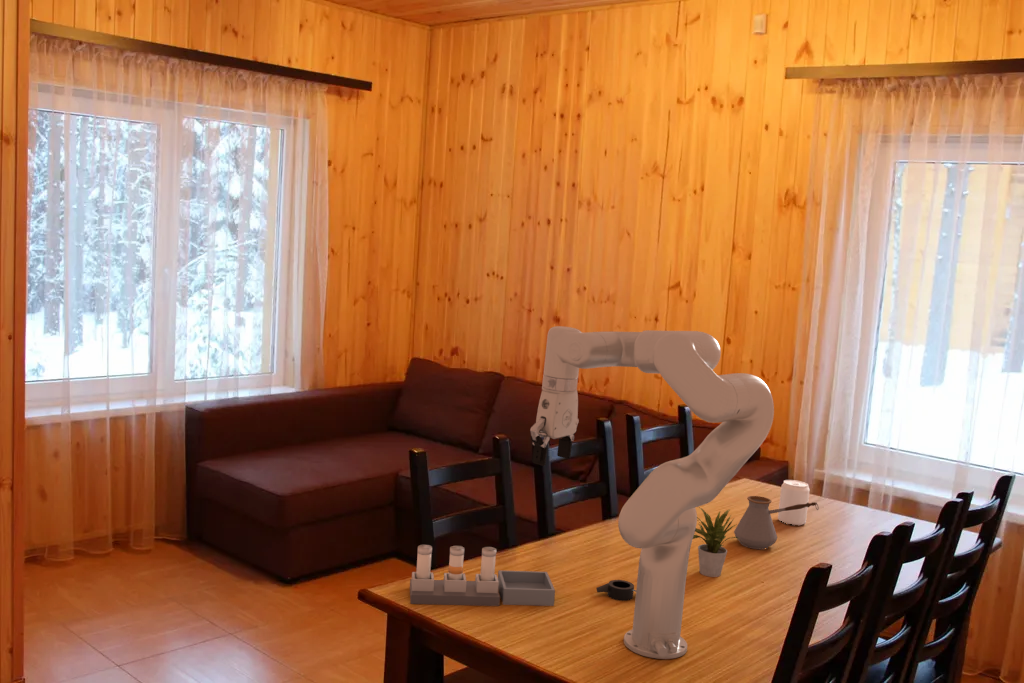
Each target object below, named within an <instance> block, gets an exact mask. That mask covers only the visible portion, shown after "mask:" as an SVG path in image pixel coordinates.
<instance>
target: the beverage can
mask: <svg viewBox="0 0 1024 683" xmlns="http://www.w3.org/2000/svg"><path fill="white" fill-rule="evenodd" d="M810 491H811V490H810V486H809V483H807V482H804V481H801V480H794V479H785V480H783V483H782V484H781V488H780V495H779V503H778V504H779V505H778V509H781V508H786V507H790V506H794V505H798V504H807V503H809V499H810ZM808 509H809V507H804V508H801V509H796V510H788V511H781V512H777V514H778V515H777V519H778V521H780V522H781V521H782V522H781V523H783V522H784V523H783V524H785V523H787V524H786V525H788V524H792V525H791V526H795V525H798V526H802V525H805V524H806V523H807V517H808V516H807V515H808Z"/></svg>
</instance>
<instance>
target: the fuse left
mask: <svg viewBox="0 0 1024 683" xmlns="http://www.w3.org/2000/svg"><path fill="white" fill-rule="evenodd" d="M432 553H433V546H432V545H430V544H420V545H418V546H417V558H416V559H417V560H416V571H415V572H416V579H430V572H431V567H432V555H433V554H432Z"/></svg>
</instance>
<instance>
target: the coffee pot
mask: <svg viewBox="0 0 1024 683" xmlns="http://www.w3.org/2000/svg"><path fill="white" fill-rule="evenodd" d="M747 500H748V507H747V508H746V510H745V511H744V514H743V515H742V517H741V519H740V520H739V522H738V524H737V525H736V527H735V529H734V530H733V533H734V537H738V538H739V539H738V538H736V539H737V541H739V543H740V545H742V546H743V547H746V548H750V549H754V550H766V549H765V548H767V549H769V548H770V547H771V546H774V544H775V543H776V542H777V539H778V535H777V532H776V528H775V525H774V523H773V519H772V516H771V514H778V512H781V511H788V510H796V509H801V508H804V507H808V508H810V507H815V509H816V511H819V504H818V502H817V501H816V502H810V503H809V502H808V503H807V504H798V505H794V506H790V507H786V508H781V509H779V508H776V509H769V506H770V505H771V503H773V502H772V499H770V498H768V497H765V496H759V495H749V496H747ZM768 547H769V548H768Z"/></svg>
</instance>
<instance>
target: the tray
mask: <svg viewBox="0 0 1024 683" xmlns="http://www.w3.org/2000/svg"><path fill="white" fill-rule="evenodd" d="M497 578H498V581H499V585H498V592H499V596H500V599H501V603H502V605H510V606H541V607H542V606H547V607H548V606H549V607H550V606H551V607H552V606H553V607H554V606H555V596H556V595H555V594H556V589H555V587H554V584H553V582H552V580H551V578H550V576H549V573H548V571H536V570H535V571H532V570H531V571H529V570H500V569H498V571H497Z"/></svg>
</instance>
